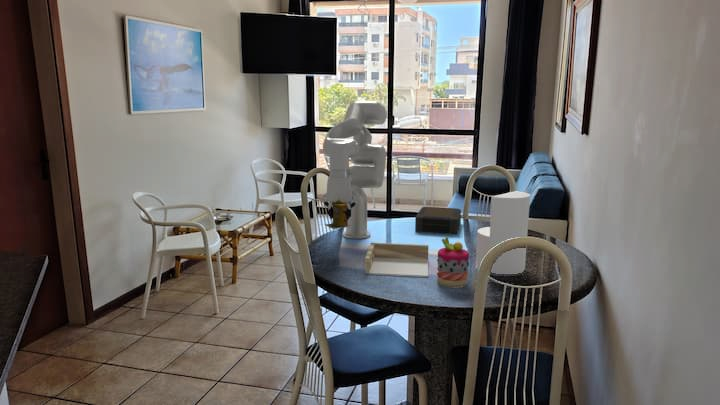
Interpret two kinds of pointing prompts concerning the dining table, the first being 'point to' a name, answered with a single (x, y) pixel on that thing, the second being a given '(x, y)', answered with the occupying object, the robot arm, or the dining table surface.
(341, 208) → the condiment
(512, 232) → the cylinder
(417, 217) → the cash box
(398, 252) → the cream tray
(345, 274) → the dining table surface
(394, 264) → the mat
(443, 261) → the cake
